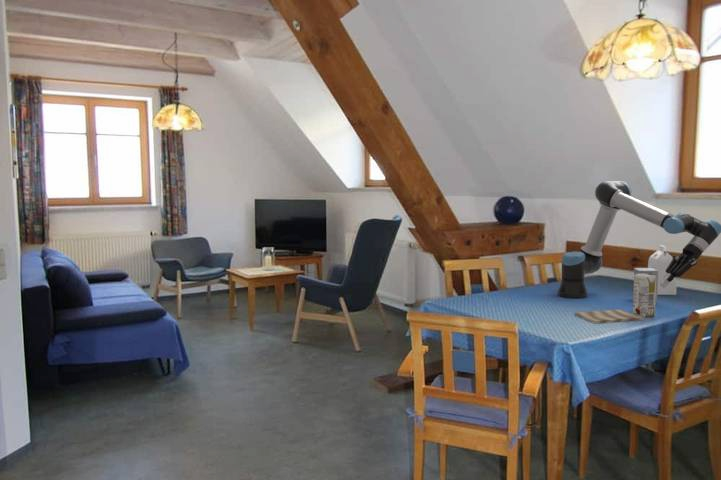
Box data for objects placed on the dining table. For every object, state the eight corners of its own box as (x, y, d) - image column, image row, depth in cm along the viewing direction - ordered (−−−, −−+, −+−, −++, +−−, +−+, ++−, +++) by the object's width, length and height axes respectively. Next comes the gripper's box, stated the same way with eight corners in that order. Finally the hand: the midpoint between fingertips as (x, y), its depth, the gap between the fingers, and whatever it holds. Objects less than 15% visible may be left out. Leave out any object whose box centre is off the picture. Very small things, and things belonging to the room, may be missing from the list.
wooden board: (620, 312, 265) (621, 309, 265) (643, 320, 250) (643, 317, 250) (574, 315, 261) (575, 312, 261) (595, 323, 245) (595, 320, 245)
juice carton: (644, 318, 253) (645, 276, 251) (630, 313, 262) (631, 273, 260) (657, 316, 256) (659, 275, 254) (643, 312, 264) (644, 272, 262)
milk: (676, 294, 301) (678, 247, 298) (653, 294, 303) (655, 247, 300) (667, 290, 313) (669, 244, 310) (645, 290, 315) (647, 244, 312)
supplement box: (657, 303, 281) (658, 270, 279) (637, 303, 283) (639, 270, 281) (651, 299, 291) (652, 267, 289) (632, 299, 292) (633, 267, 291)
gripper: (710, 255, 254) (677, 293, 253) (689, 252, 267) (656, 288, 266) (701, 244, 253) (667, 282, 252) (679, 241, 266) (647, 277, 264)
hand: (662, 285), depth 259 cm, fingers closed
